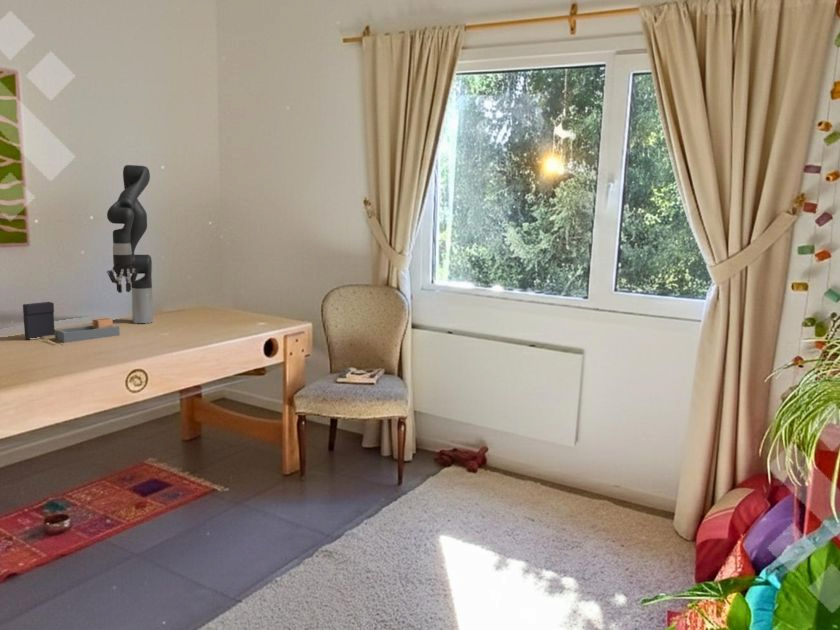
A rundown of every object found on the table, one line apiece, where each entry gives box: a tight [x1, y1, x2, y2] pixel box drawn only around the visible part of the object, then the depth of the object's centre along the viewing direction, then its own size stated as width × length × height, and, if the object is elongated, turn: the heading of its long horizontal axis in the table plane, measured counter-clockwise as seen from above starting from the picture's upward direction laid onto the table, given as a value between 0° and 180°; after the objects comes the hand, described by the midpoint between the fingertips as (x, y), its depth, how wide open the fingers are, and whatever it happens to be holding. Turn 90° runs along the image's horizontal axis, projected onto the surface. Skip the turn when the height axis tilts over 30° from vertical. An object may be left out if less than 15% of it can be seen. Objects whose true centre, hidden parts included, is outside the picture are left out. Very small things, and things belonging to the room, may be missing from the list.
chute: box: [54, 324, 120, 346], centre depth 282 cm, size 12×26×5 cm, turn 140°
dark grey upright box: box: [22, 301, 55, 340], centre depth 280 cm, size 11×4×15 cm, turn 145°
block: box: [92, 317, 114, 329], centre depth 286 cm, size 6×6×7 cm
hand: (123, 292), depth 291 cm, fingers open, 3 cm apart
